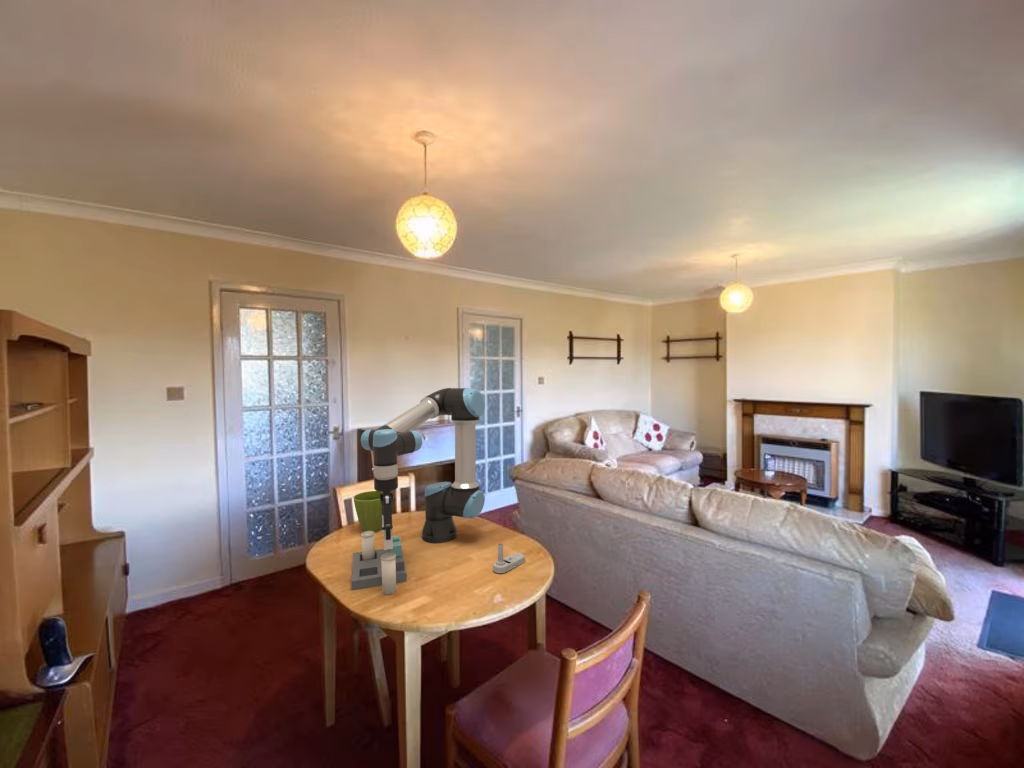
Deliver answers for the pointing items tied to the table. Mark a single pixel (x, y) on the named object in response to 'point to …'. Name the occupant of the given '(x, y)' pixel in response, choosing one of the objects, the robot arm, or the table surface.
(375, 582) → the housing
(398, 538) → the lid
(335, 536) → the table surface
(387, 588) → the cream peg
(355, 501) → the flower pot
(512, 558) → the electronic device
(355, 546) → the table surface
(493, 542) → the table surface
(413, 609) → the table surface
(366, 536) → the white cylinder
